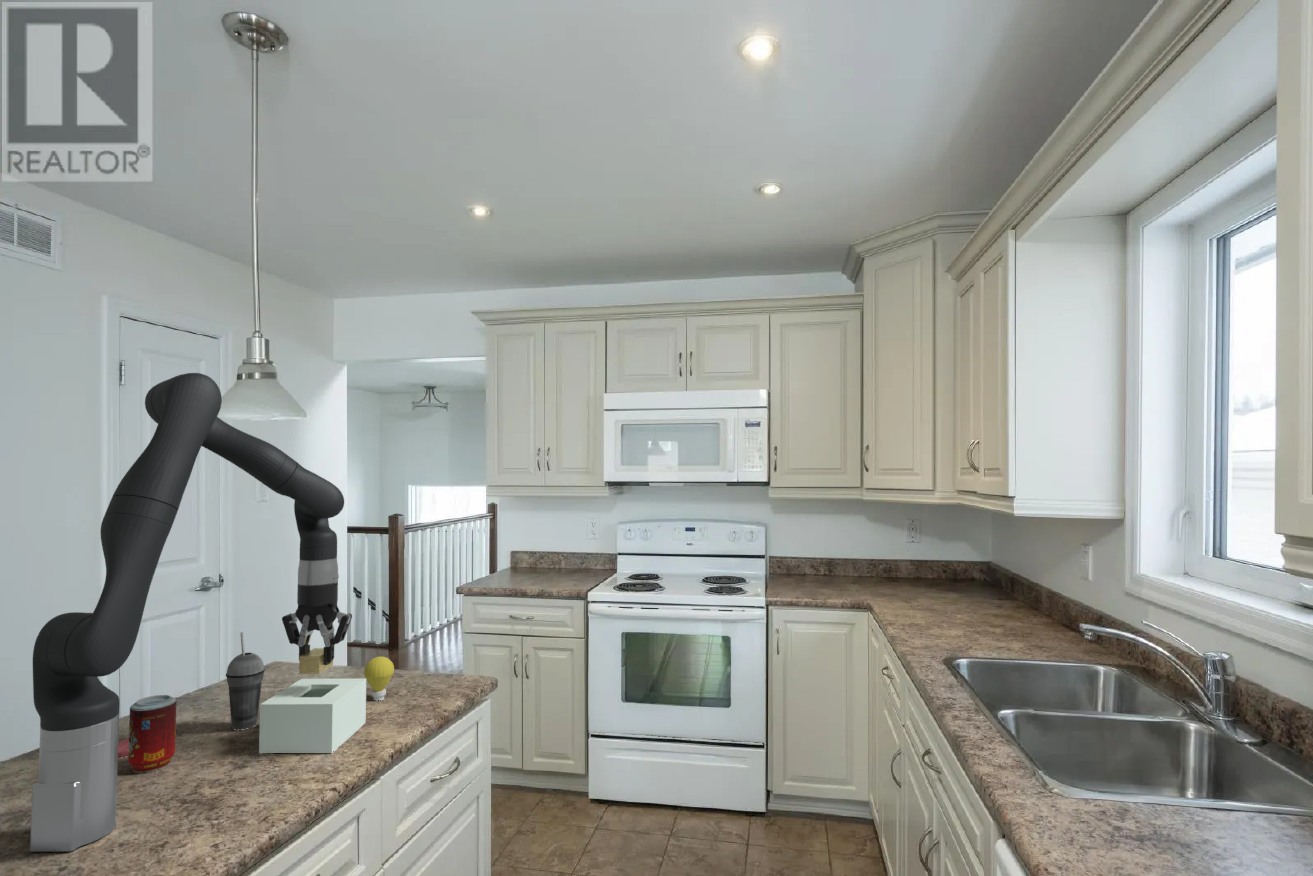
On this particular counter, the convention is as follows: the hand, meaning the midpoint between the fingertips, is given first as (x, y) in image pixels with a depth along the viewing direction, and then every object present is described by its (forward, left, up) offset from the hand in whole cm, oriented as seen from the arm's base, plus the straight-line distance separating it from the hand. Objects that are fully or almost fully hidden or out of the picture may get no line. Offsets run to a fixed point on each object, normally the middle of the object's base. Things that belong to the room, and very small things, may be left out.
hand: (316, 663), depth 141 cm
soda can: (-13, +24, -15) cm, 31 cm away
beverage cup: (+6, +18, -15) cm, 24 cm away
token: (0, 0, -1) cm, 1 cm away
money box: (0, 0, -15) cm, 15 cm away
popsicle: (-2, +34, -16) cm, 37 cm away
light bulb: (+23, -4, -15) cm, 28 cm away
